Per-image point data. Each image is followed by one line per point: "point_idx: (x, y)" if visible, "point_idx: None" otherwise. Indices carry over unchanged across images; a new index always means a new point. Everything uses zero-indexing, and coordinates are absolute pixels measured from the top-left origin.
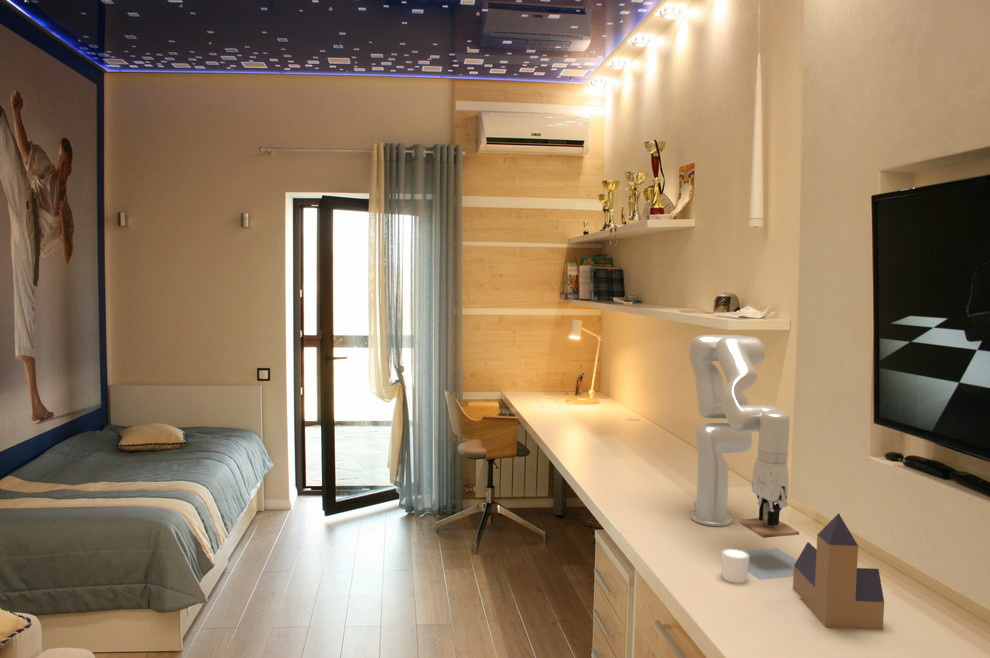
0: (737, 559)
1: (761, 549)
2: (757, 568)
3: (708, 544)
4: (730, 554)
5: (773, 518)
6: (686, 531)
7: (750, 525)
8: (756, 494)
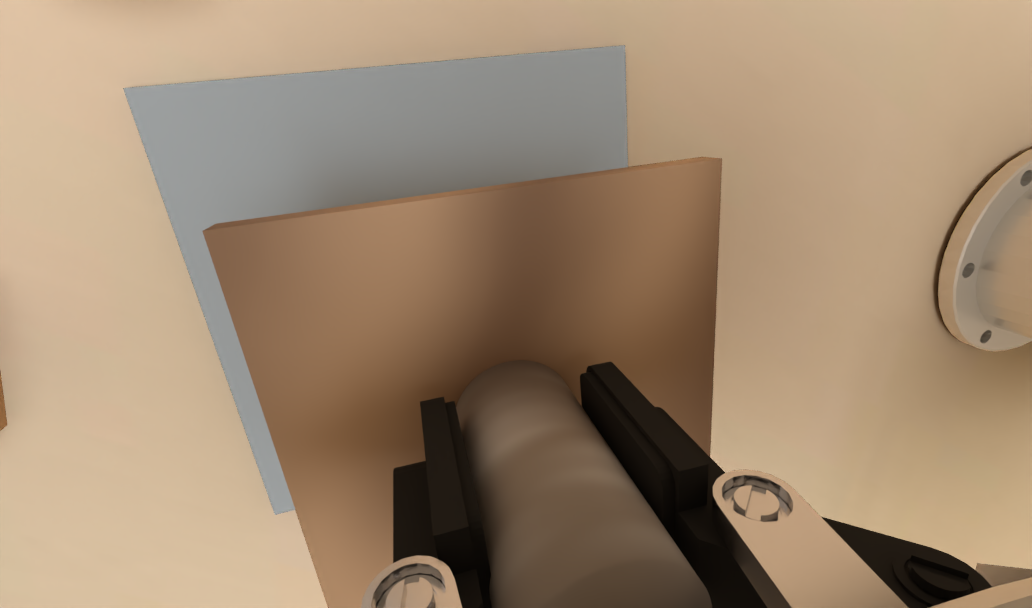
0: None
1: None
2: (344, 178)
3: (770, 51)
4: None
5: (396, 512)
6: (965, 11)
7: (537, 215)
8: (1009, 576)
